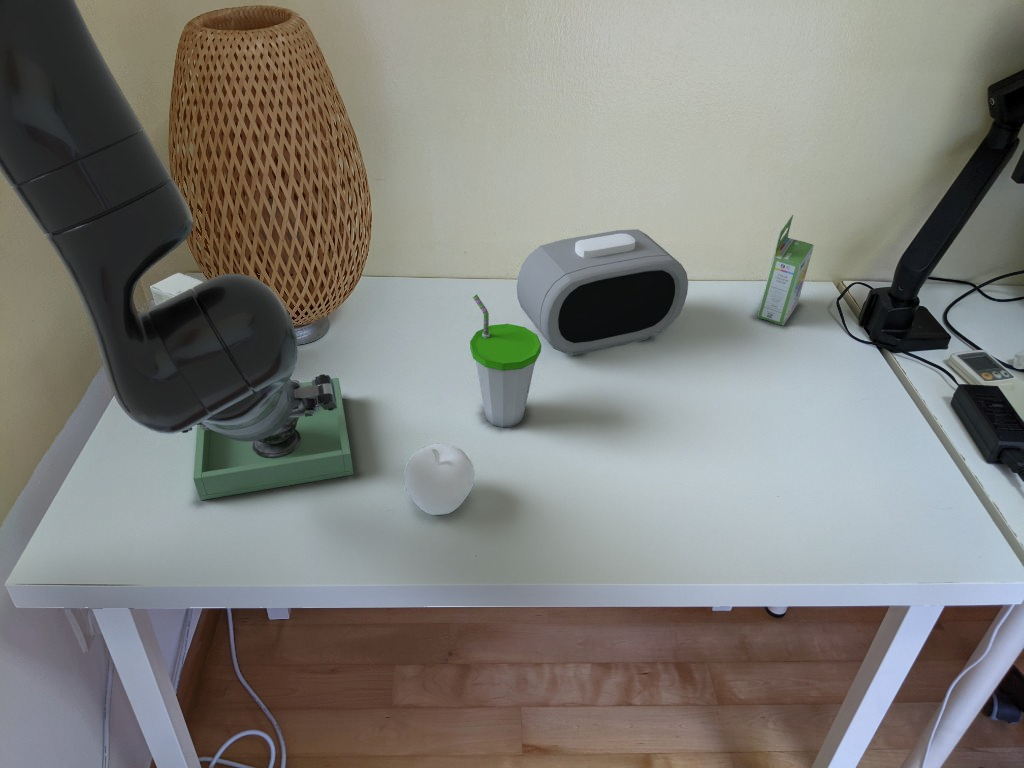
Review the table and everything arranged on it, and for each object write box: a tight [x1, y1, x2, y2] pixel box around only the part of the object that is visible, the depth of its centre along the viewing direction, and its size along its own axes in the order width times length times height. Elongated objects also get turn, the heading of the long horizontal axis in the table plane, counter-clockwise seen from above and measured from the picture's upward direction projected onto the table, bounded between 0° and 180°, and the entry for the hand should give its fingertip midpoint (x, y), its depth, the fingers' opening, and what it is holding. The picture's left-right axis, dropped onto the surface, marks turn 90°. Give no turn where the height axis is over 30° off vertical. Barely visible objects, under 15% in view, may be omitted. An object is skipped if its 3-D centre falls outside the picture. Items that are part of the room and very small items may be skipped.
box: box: [150, 272, 204, 306], centre depth 95 cm, size 5×4×11 cm
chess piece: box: [252, 417, 301, 458], centre depth 82 cm, size 6×6×12 cm
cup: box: [469, 293, 542, 428], centre depth 87 cm, size 8×8×15 cm
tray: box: [192, 377, 354, 501], centre depth 85 cm, size 16×14×3 cm
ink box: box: [757, 214, 815, 326], centre depth 107 cm, size 7×4×13 cm, turn 148°
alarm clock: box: [516, 228, 689, 357], centre depth 102 cm, size 21×10×13 cm, turn 112°
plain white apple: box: [403, 443, 476, 516], centre depth 77 cm, size 7×7×8 cm
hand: (263, 412), depth 77 cm, fingers open, 8 cm apart
